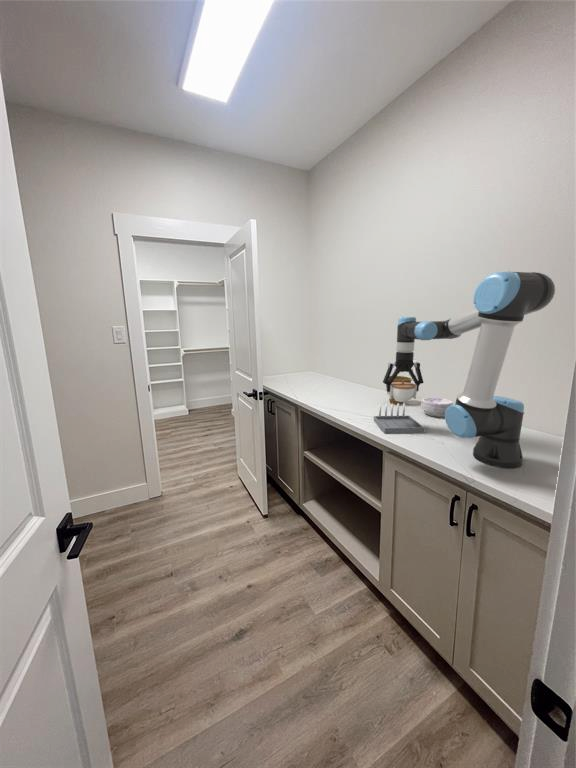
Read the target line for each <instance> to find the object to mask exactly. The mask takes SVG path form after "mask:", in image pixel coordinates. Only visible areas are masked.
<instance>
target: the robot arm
mask: <svg viewBox="0 0 576 768" xmlns="http://www.w3.org/2000/svg"><path fill="white" fill-rule="evenodd" d="M555 293H556V286H555V282H554V281H553V279H552V278H550V276H548V275H547V274H544V273H541V272H536V271H534V272H533V271H532V272H531V271H530V272H527V271H526V272H523V271H510V270H508V271H499V272H494V273H491V274H489V275H487V276H486V277H485V278H484V279H482V280H481V281H480V283H478V285H477V287H476V289H475V291H474V294H473V304H474V308H472V309H470V310H467V311H465V312H463V313H461V314H458V315H456V316H453V317H452V318H448V319H446V320H440V321H438V320H435V321H434V320H433V321H431V320H430V321H427V320H426V321H417V318H416V317H415V316H400V317H398V319H397V320H398V321H397V326H396V327H397V331H396V333H397V334H396V348H395V349H396V353H395V362H394V363H393V362H388V364H387V365H388V366H387V370H386V373H385V374H384V377H383V381H382V383H383V384H384V385H386V384H387V388H386V393H387V392H388V393H387V398H388V400H389V399H392V385H391V383H392V382H393V381H394V379H395V378H396V376H399V374H400V373H404V372H405V373H408V374H409V375H410V378H411V380H412V381H413V382H414V383H413V384H415V390H414V395H413V397H412V398H411V399H414V400H416V399H417V393H418V392H419V388H420V385H421V384H424V380H423V375H422V372H421V371H422V370H421V363H420V362H414V354H415V353H414V352H415V341H416V340H418V341H419V340H420V341H431V340H453V339H457V338H460V337H461V336H462V335H463V334H465V333H467V332H471V331H473V330H476V329H479V331H478V336H477V339H476V344H475V347H474V351H473V355H472V358H471V362H470V367H469V370H468V373H467V377H466V382H465V384H464V389H463V392H461V393H459V394H458V395H456V398H455V404H454V403H453V404H452V405H451V406H449V407H448V408H447V409H446V411H445V416H444V421H445V424H446V425H447V428H448V429H449V431H450V432H451V433H452V434H453V435H454V436H456V437H458V438H462V439H472V438H477V437H478V439H477V442H475V443H476V444H475V446H474V447H473V451H472V456H473V457H474V459H476V460H477V461H479V462H481V463H484V464H486V465H489V466H493V467H496V468H497V467H498V468H503V469H515V468H516V469H517V468H521V467H522V465H523V462H524V457H523V452H522V450H521V443H520V439H521V432H522V425H523V419H524V414H525V411H524V410H525V404H524V403H523V402H522V401H520V400H518V399H514V398H509V397H504V396H498V395H495V393H496V392H495V391H496V388H497V385H498V381H499V379H500V377H501V376H500V375H501V372H502V370H503V366H504V362H505V358H506V355H507V353H508V349H509V347H510V342H511V339H512V336H513V332H514V330H515V327H516V326H517V325H519V324H521V323H522V322H523V321H524V318H525V315H529V314H532V313H536V312H538V311H541V310H542V309H544V308H546V306H548V305H549V304H550V303H551V302H552V300H553V299H554V297H555ZM394 367H395V369H394V371H393V368H394ZM412 368H414V370H415V373H416V375H415V373H414V371H413V369H412ZM392 372H393V373H392ZM390 376H391V377H390ZM389 377H390V379H389ZM388 379H389V380H388Z"/></svg>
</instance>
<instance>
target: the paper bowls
mask: <svg viewBox="0 0 576 768" xmlns="http://www.w3.org/2000/svg"><path fill="white" fill-rule="evenodd" d="M420 402H421V403H420V409H422V410H423V411H424V412H425V414H426V415H428V416H431V417H435V418H436V417H437V418H441V417H442V418H444V417H445V411H446V409H447V408H448V407H449V406H451V405H452V404H454V402H453V401H452V400H450V399H448V398H440V397H424V398H423V397H422V399H421V401H420Z"/></svg>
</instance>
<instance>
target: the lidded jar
mask: <svg viewBox="0 0 576 768" xmlns="http://www.w3.org/2000/svg"><path fill="white" fill-rule="evenodd" d="M391 385H392V397H393V398H394V399H395V400H396V401H399V402H404V403H407V402H409V401H410V400H411V399H413V398H412V397H413V395H414V390H415V383H412V382H411V383H407V382H404V381H402V382H394V383H391Z"/></svg>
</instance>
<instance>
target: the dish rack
mask: <svg viewBox="0 0 576 768" xmlns="http://www.w3.org/2000/svg"><path fill="white" fill-rule="evenodd" d="M390 404H391V403H390ZM384 406H385V408H384V409H385V410H384V415H382V403H379V408H378V410H379V411H378V412H379V413H378V415H374V416H373V422H374V423H375V424H376V425H377V426H378V427H377V428H379V429H380V431H381V432H383V434H385V435H387V434H425V427H424V426H423V425H422V424H421V423H419V422H418V421H417V420H416V419H414V418H413V417H412V416H410V415H406V414H405V412H406V402H404V403H403V404H402V415H399V412H400V405H399V403H397V405H396V406H397V407H396V415H394V404H391V406H390V415H388V403H385V405H384Z"/></svg>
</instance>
